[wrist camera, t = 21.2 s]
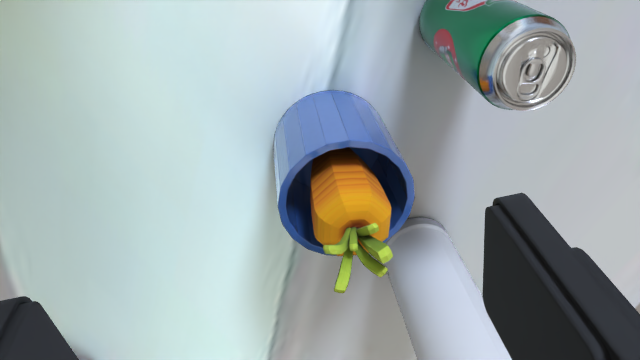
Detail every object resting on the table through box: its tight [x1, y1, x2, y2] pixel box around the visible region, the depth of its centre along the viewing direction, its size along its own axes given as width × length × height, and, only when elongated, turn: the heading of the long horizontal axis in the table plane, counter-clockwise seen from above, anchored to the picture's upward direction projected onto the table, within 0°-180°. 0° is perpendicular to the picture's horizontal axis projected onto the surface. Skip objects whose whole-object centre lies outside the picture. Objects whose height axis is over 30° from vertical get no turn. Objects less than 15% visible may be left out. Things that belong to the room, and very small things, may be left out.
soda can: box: [419, 0, 576, 111], centre depth 30 cm, size 5×5×12 cm
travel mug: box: [384, 217, 512, 360], centre depth 37 cm, size 6×7×20 cm
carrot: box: [310, 147, 393, 293], centre depth 32 cm, size 5×5×15 cm
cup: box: [273, 90, 415, 256], centre depth 35 cm, size 9×9×8 cm
